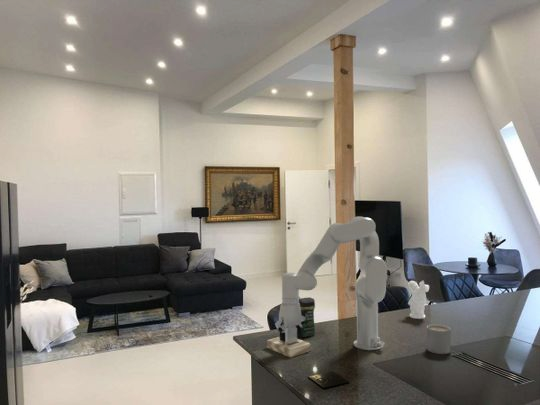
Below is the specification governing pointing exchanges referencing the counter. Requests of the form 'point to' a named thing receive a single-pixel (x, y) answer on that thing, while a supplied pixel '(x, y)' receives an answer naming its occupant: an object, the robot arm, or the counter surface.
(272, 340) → the block
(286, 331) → the bracket
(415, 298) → the cherub figurine
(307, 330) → the coffee jar
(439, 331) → the coffee mug
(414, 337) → the counter surface
